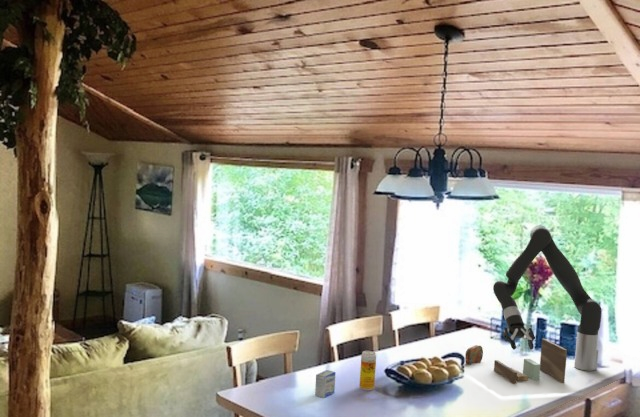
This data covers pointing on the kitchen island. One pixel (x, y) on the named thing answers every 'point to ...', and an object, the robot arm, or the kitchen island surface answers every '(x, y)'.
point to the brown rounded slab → (474, 355)
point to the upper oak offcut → (521, 376)
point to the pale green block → (531, 369)
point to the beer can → (367, 370)
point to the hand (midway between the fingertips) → (523, 348)
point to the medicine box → (325, 383)
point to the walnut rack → (541, 363)
